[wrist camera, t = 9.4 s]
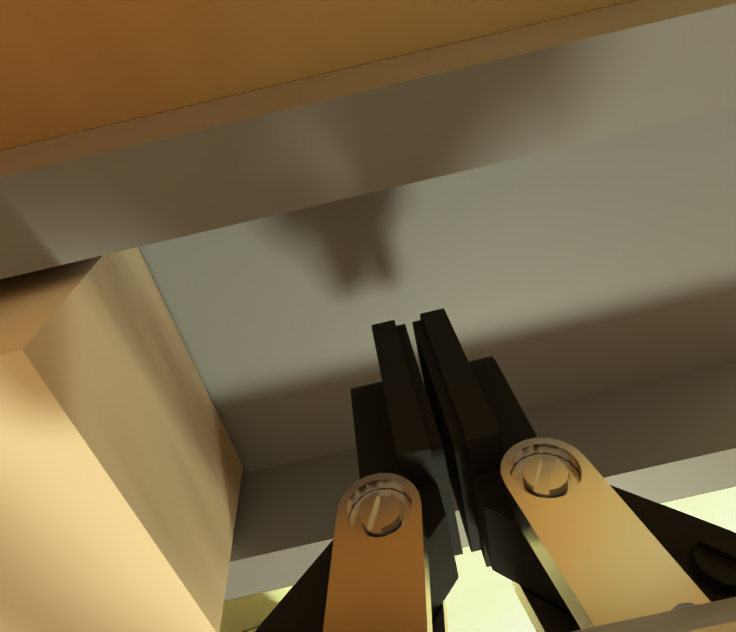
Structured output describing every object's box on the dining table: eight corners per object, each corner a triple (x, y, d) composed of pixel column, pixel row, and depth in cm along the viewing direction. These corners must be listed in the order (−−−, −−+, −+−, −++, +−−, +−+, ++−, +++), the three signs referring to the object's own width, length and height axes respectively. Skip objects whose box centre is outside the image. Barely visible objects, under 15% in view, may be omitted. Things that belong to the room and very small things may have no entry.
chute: (831, -47, 11) (1275, -100, 6) (735, 374, 17) (916, 524, 12) (-298, 221, 12) (-785, 385, 6) (2, 540, 18) (-121, 754, 13)
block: (127, 225, 12) (22, 350, 7) (242, 466, 16) (219, 636, 11) (-128, 285, 12) (-382, 443, 7) (54, 509, 16) (-40, 694, 11)
